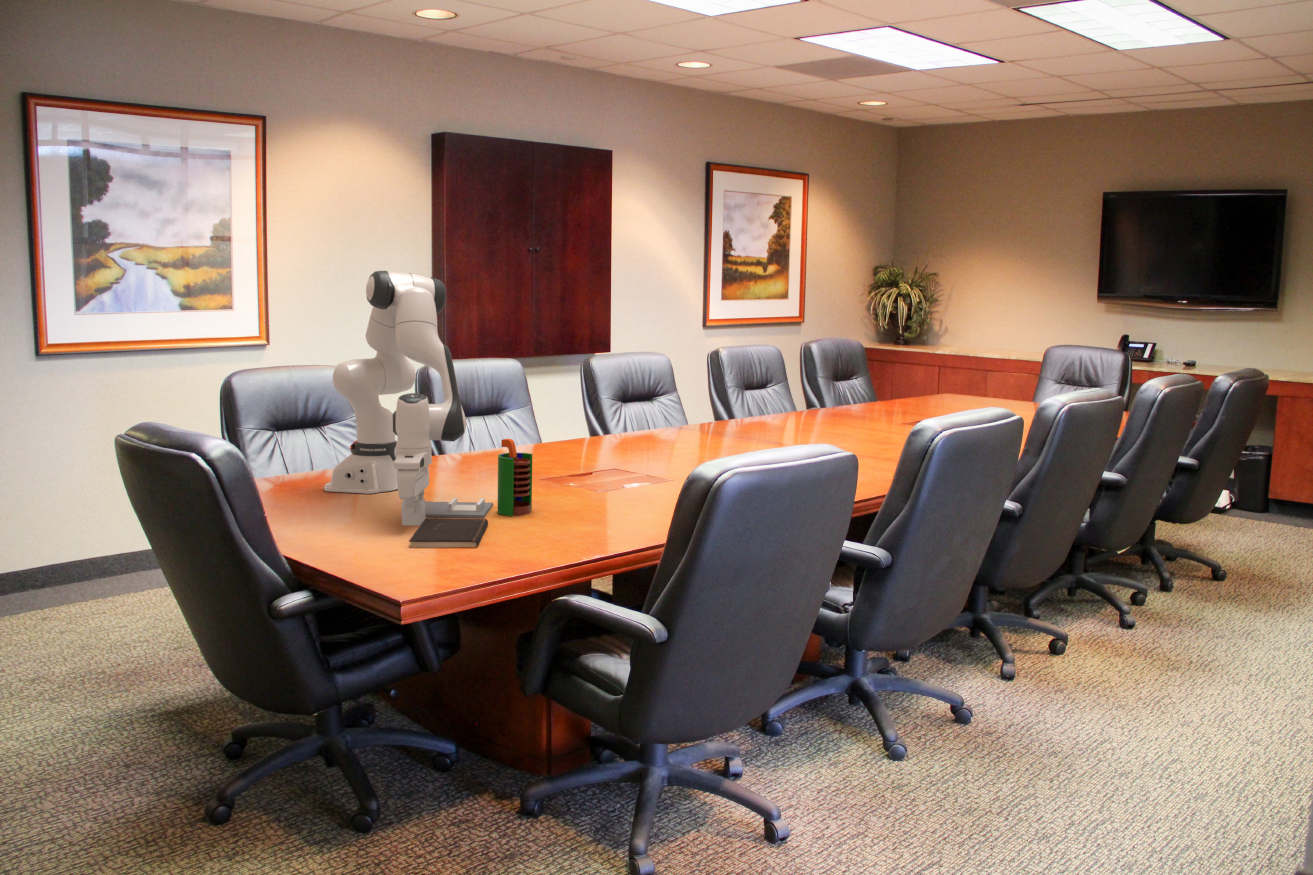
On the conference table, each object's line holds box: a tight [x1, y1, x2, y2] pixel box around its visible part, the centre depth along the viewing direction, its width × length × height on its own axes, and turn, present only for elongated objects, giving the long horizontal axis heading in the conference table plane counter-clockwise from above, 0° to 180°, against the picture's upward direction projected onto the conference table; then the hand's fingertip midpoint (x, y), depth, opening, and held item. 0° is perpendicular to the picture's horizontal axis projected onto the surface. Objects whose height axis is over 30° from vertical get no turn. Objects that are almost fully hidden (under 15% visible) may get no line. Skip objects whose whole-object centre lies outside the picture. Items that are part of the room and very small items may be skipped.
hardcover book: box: [408, 518, 489, 549], centre depth 262 cm, size 16×23×2 cm
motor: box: [497, 438, 533, 517], centre depth 288 cm, size 10×9×20 cm
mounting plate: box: [425, 497, 494, 519], centre depth 289 cm, size 20×16×3 cm
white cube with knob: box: [401, 496, 427, 527], centre depth 274 cm, size 5×5×8 cm
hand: (415, 510), depth 274 cm, fingers open, 8 cm apart
